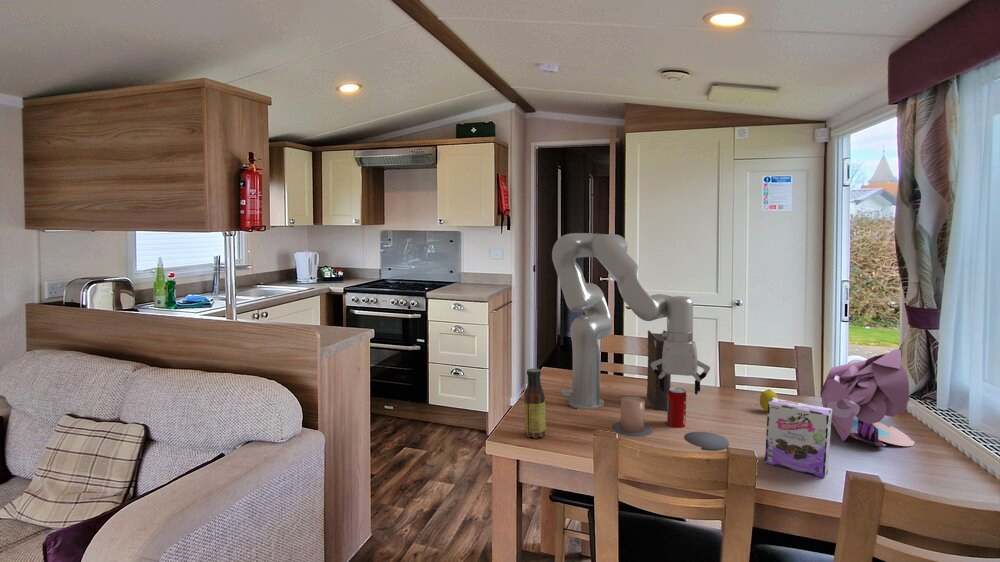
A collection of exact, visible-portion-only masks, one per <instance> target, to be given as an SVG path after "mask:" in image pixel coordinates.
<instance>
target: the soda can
mask: <svg viewBox="0 0 1000 562" xmlns="http://www.w3.org/2000/svg"><path fill="white" fill-rule="evenodd" d="M666 412H667V414H666V416H667V417H666V418H667V419H666V425H667V426H669V427H672V428H676V429H683V428H686V424H687V423H686V420H687V419H686V418H687V392H686V389H685V388H682V387H677V386H676V387H675V386H674V387H670V389H669V392H668V408H667V411H666Z"/></svg>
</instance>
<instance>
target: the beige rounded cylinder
mask: <svg viewBox="0 0 1000 562" xmlns="http://www.w3.org/2000/svg"><path fill="white" fill-rule="evenodd" d="M645 407H646V401H645V399H644V398H642V397H638V396H631V395H630V396H629V395H628V396H623V397H621V398H620V422H621V424H620V428H621V430H623V431H625V432H628V433H641V432H643V431H644V424H645V410H646V409H645Z"/></svg>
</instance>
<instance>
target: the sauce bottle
mask: <svg viewBox="0 0 1000 562" xmlns="http://www.w3.org/2000/svg"><path fill="white" fill-rule="evenodd" d="M541 374H542V372H541V370H540V368H528V369H527V370H526V375H527V386H526V388H525V390H524V393H523V395H524V396H523V398H524V401H523V403H524V404H523V405H524V407H523V409H524V410H523V411H524V430H525V436H526V437H528V436H529V437H528V438H530V437H535V438H534V439H539V438H538V437H541V438H543V436H544V437H545V436H546V431H547V421H546V396H545V393H544V390H543V387H542V384H541Z"/></svg>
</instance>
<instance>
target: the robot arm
mask: <svg viewBox="0 0 1000 562" xmlns="http://www.w3.org/2000/svg"><path fill="white" fill-rule="evenodd" d="M627 252H628V242H627V241H626V239H625V238H624V237H623V236H622V235H619V234H613V233H611V234H608V233H590V232H588V233H587V232H581V233H580V232H574V233H566V234H564V235H562V236H560V237H559V238H558V239H557V240H556V241H555V243H554V245H553V247H552V251H551V258H552V259H551V260H552V263H553V266H554V269H555V272H556V275H557V277H558V280H559V284H560V288H561V291H562V294H563V298H564V300H565V304H566V306H567V309H569V311H571V312H574V313H580V312H584V314H583V315H580V316H578V317H576V318H575V319H574V320H573V321H572V323H570V324H571V325H570V329H569V331H570V338H571V346H572V376H571V377H572V380H571V381H572V383H571V384H572V385H571V386H572V388H571V389H569V390H567V389H561V390H560V395H561V397H562V398H568V399H567V405H568V404H569V405H570V406H569V405H568V406H569V407H571V408H573V409H576V410H578V409H583V410H595V409H600V408H602V407H604V406H605V401H604V400H603V399H601V350H600V346H599V343H598V340H601V339H604V338H607V337H608V336H609V335H610V334H611V333H612V330H613V320H612V316H611V313H610V309H609V307H608V303H607V300H606V297H605V294H604V292H603V291H602V289H601V288H600V287H599V286H598V284H595V283H592V282H586V280H585V277H584V273H583V271H582V268H581V266H580V265H579V263H578V262H577V261H576V259H579V258H588V257H589V258H596V259H597V260H598V262H599V263H600V264H601V265H602V266H603V267H604V268H605V269H606V271H607V272H608V273H609V274H610V276H612V278H613V279H614V280H615V282H616V284H617V288H618V291H619V294H620V296H621V298H622V299H623V301H624V303H625V304H626V305H627V307H628V308H629V309H630V310H631V311H632V312H633V313H634V314H635V315H636V316H637V317H638V318H639V319H640V320H642V321H646V322H652V321H655V320H658V319H659V320H660V319H663V318H666V330H665V331H666V332H665V333H664V332H662V333H661V334H662V337H666V338H667V340H665V341H664V345H663V354H662V358H661V359H659V360H657V361H654V362H652V363H651V367H652V369H653V371H654V373H655V374H656V375H657V376H658V377H659V378H660V388H662V392H664V391H665V377H664V376H665V375H666V374H671V375H675V376H686V377H690V376H692V377H693V378H694V379H695V381H694V395H698V393H699V392H701V381H702V380H704V379H705V378H706V377H707V375H708V373H709V372H710V370H711V367H710V366H709V365H708V364H705V363H704V362H702V361H700V360H698V354H697V353H698V351H697V345H696V342H695V340H694V301H693V299H692V297H689V296H682V295H677V296H674V295H673V296H671V295H667V294H661V293H659V294H652V295H650V294H649V293H648V292H647V291H646V290H645V289H644V287H643V286H642V284H640V281H639V279H638V275H637V273H638V269H639V267H638V263H636V261H635V260H634V259H633V258H632V257H631V256H630V255H629V254H628V253H627ZM661 363H662V372H660V371H659V370H658V369H657V367H656V366H657V365H659V364H661ZM698 367H699V368H700V369H701V368H702V369H703V372H701V373H700V374H699V373H698Z"/></svg>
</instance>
